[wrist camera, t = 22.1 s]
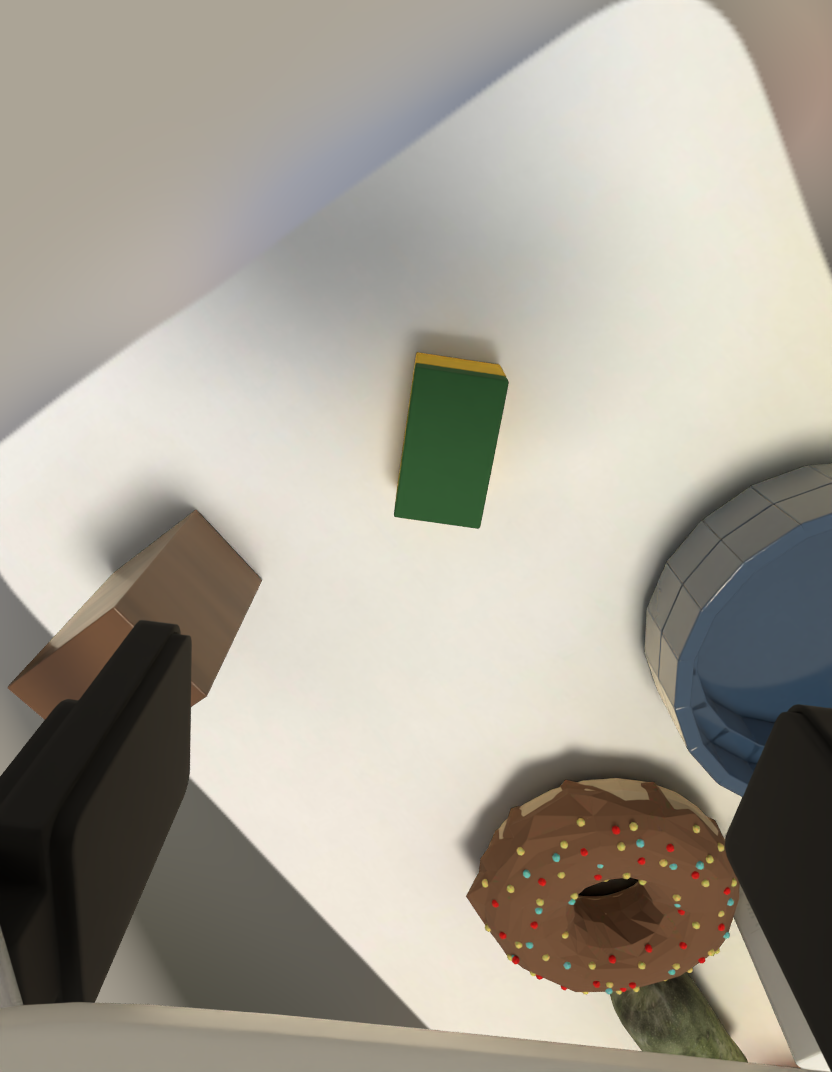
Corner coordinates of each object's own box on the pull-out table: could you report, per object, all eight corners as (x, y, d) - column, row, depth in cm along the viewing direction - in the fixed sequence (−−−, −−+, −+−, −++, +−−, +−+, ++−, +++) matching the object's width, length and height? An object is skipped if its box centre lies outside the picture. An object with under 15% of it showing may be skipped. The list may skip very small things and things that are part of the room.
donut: (744, 762, 37) (790, 837, 32) (686, 938, 42) (718, 1024, 37) (477, 744, 36) (484, 818, 32) (452, 924, 42) (456, 1009, 37)
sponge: (416, 351, 28) (415, 366, 25) (500, 364, 29) (509, 380, 25) (397, 488, 31) (393, 517, 28) (474, 499, 31) (480, 529, 28)
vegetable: (745, 1042, 46) (780, 1132, 41) (672, 1066, 47) (698, 1156, 42) (662, 916, 41) (692, 1001, 37) (583, 946, 42) (603, 1032, 38)
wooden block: (196, 509, 31) (113, 606, 23) (262, 580, 33) (207, 696, 24) (112, 573, 33) (6, 687, 24) (179, 639, 34) (100, 768, 26)
